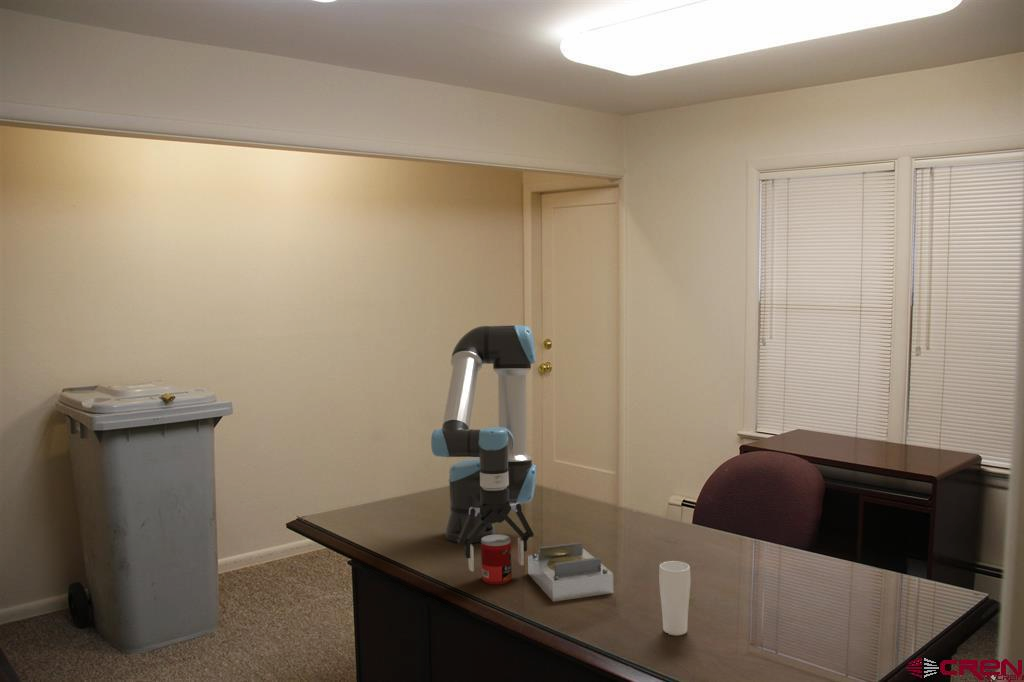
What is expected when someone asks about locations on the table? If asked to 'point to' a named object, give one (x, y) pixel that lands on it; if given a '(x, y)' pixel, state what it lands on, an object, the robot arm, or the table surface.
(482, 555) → the canned food
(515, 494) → the robot arm
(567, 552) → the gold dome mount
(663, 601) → the drinking glass
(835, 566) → the table surface
